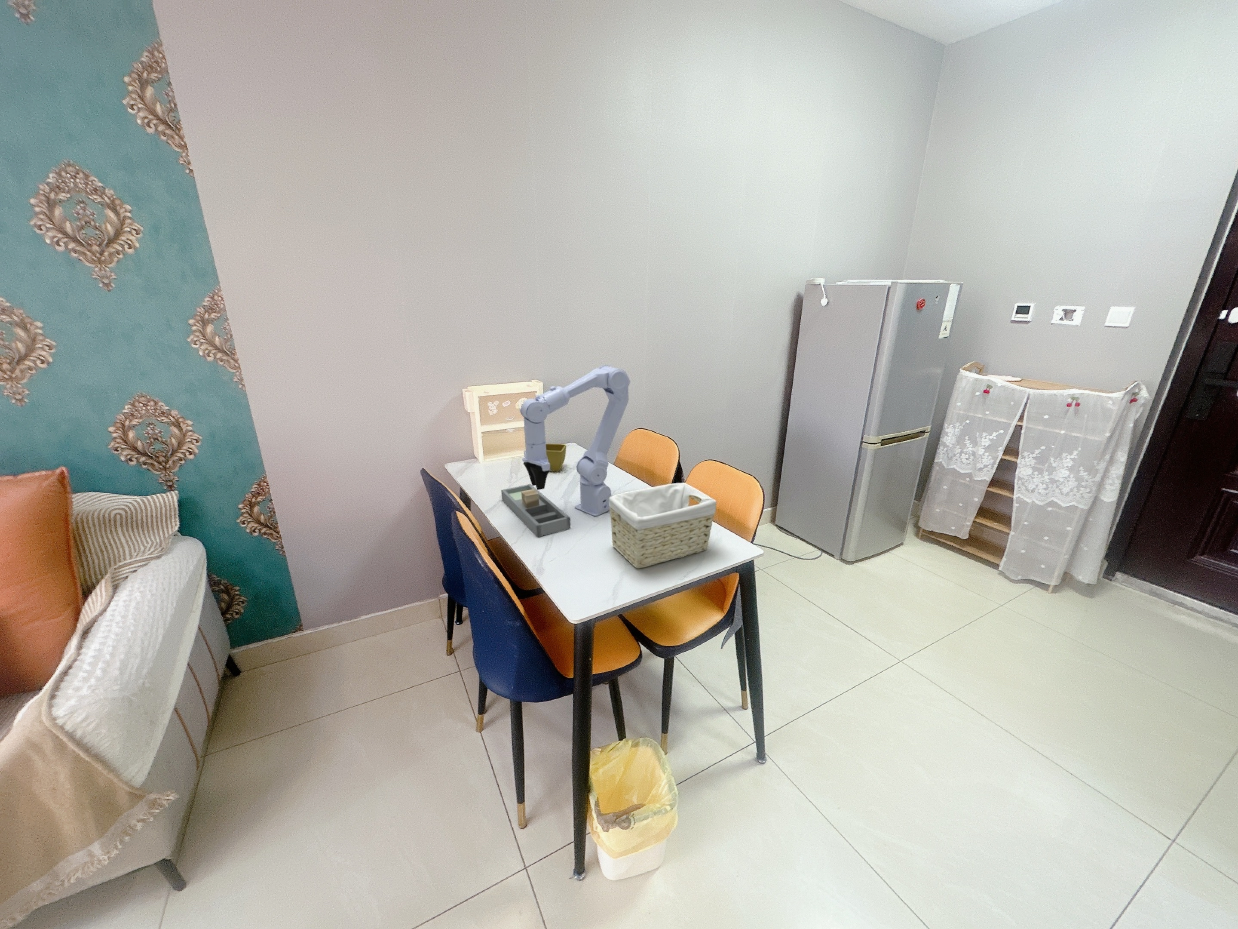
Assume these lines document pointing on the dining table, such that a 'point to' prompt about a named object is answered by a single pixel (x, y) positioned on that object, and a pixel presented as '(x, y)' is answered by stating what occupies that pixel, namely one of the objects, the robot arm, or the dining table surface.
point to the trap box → (536, 512)
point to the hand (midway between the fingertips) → (538, 486)
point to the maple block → (530, 498)
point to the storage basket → (660, 523)
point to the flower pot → (556, 455)
